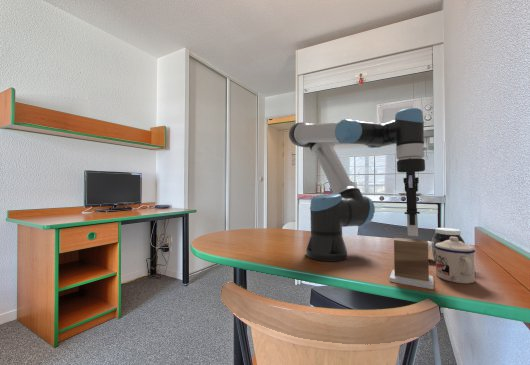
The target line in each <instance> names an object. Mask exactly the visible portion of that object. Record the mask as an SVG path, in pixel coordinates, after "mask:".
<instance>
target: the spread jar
mask: <svg viewBox="0 0 530 365" xmlns="http://www.w3.org/2000/svg"><path fill="white" fill-rule="evenodd" d="M434 228H435V233H434V235H433V236H432V239H431V241H429V240H427V241H428V253H429V252H430V250H431V252H432V258H433V260H434V262H435V263H436V248H435V244H436V243H440V242H443V241H446V240H450V239H449V238H450V237H457V238H458V241H461V242H463V243H465V244H466V242H465V240H464V239H463V237H462V236H461V229H458V228H454V227H453V228H452V227H434Z"/></svg>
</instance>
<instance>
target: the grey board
mask: <svg viewBox="0 0 530 365" xmlns="http://www.w3.org/2000/svg"><path fill="white" fill-rule="evenodd" d="M389 282H390V283H396V284H402V285H407V286H412V287H413V286H414V287H418V288H424V289H429V290H435V285H434V283H435V282H434V277H433V275H430V274H429V281H423V280H417V279H411V278H405V277H399V276H395V269H391V274H390V276H389Z"/></svg>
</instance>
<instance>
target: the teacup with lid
mask: <svg viewBox="0 0 530 365" xmlns="http://www.w3.org/2000/svg"><path fill="white" fill-rule="evenodd" d="M449 239H450V240H446V241H443V242H440V243H436V244H435V248H436V262H435V274H436V276H437V277H438V278H439V279H441V280H444V281H446V282H452V283H455V284H465V285H466V284H468V285H469V284H473V283H474V282H475V281H476V280H475V278H476V277H475V275H476V274H475V271H476V270H475V252H476V250H475V248H474V247H473V246H471V245H468V244H466V242H465V243H463V242H461V241H458V238H457V237H450V238H449Z"/></svg>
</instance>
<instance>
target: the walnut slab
mask: <svg viewBox="0 0 530 365" xmlns="http://www.w3.org/2000/svg"><path fill="white" fill-rule="evenodd" d="M428 241H429V240H424V239H413V238H404V237H403V238H402V237H394V239H393V251H394V253H393V257H394V259H393V260H394V261H393V262H394V264H393V265H394V267H393V268H394V270H395V276H399V277H405V278H411V279H417V280H423V281H429V275H430V274H429V272H430V270H429V269H430V268H429V252H428Z"/></svg>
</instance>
